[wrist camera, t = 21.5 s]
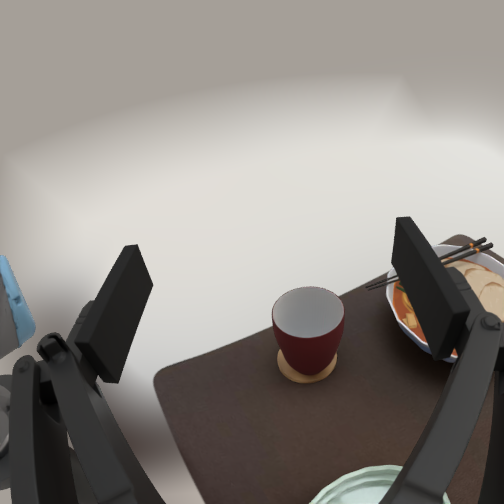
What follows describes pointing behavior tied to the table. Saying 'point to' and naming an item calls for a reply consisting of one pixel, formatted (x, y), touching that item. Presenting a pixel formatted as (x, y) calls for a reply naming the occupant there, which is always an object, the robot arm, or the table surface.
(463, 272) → the ramen bowl
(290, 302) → the mug
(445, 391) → the robot arm
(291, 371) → the coaster
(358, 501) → the serving bowl
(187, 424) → the table surface
